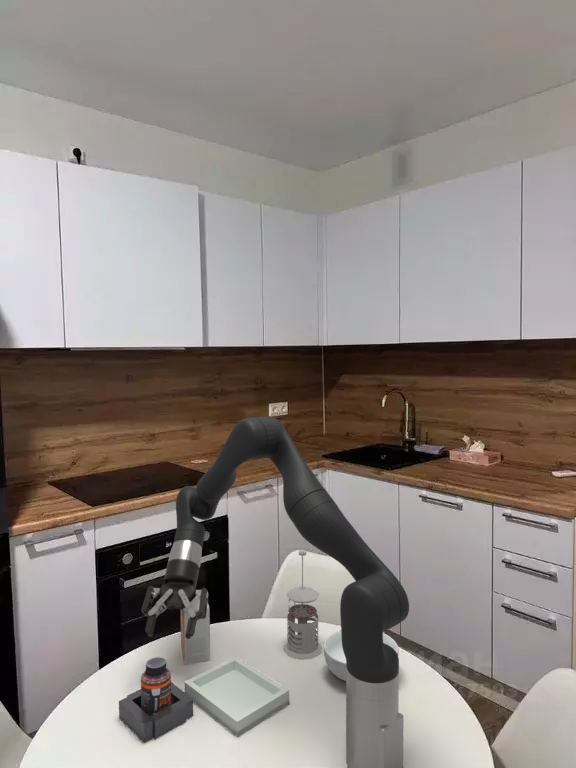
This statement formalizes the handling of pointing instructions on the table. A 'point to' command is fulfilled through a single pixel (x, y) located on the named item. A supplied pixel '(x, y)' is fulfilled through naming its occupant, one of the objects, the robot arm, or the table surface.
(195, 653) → the small box
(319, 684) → the table surface
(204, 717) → the table surface
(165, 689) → the supplement bottle
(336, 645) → the cereal bowl
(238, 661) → the tray
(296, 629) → the french press
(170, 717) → the collar
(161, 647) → the table surface
